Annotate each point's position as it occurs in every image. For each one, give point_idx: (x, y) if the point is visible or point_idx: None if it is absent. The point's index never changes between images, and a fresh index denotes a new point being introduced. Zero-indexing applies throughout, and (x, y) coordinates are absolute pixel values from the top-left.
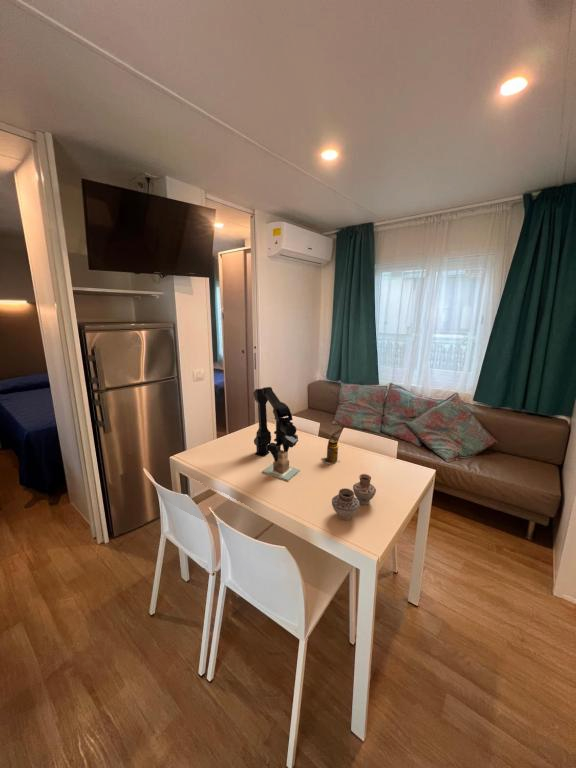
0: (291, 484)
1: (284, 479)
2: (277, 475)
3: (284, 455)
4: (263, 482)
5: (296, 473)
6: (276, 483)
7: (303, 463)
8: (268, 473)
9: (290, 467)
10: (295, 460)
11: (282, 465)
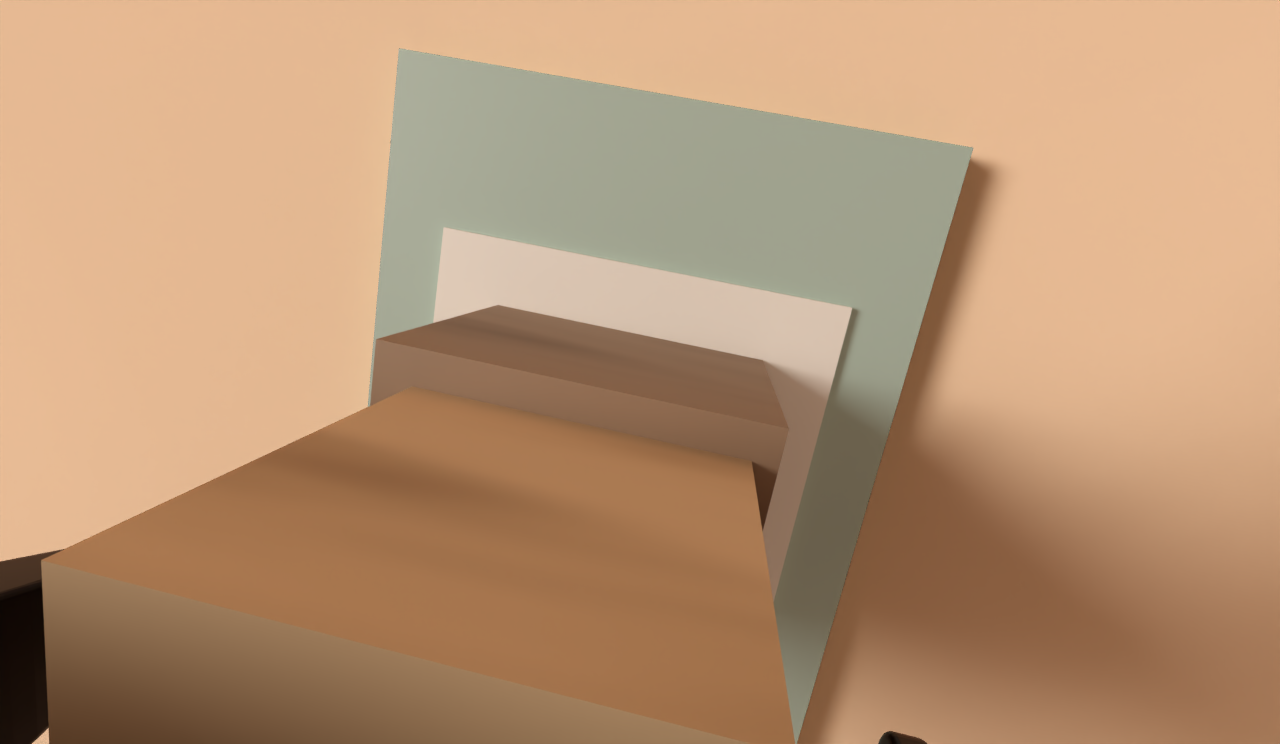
0: (1077, 17)
1: (934, 254)
2: (850, 457)
3: (538, 610)
4: (1151, 635)
5: (567, 83)
6: (1123, 373)
7: (83, 106)
8: (819, 656)
9: (405, 302)
10: (66, 320)
11: (779, 445)
